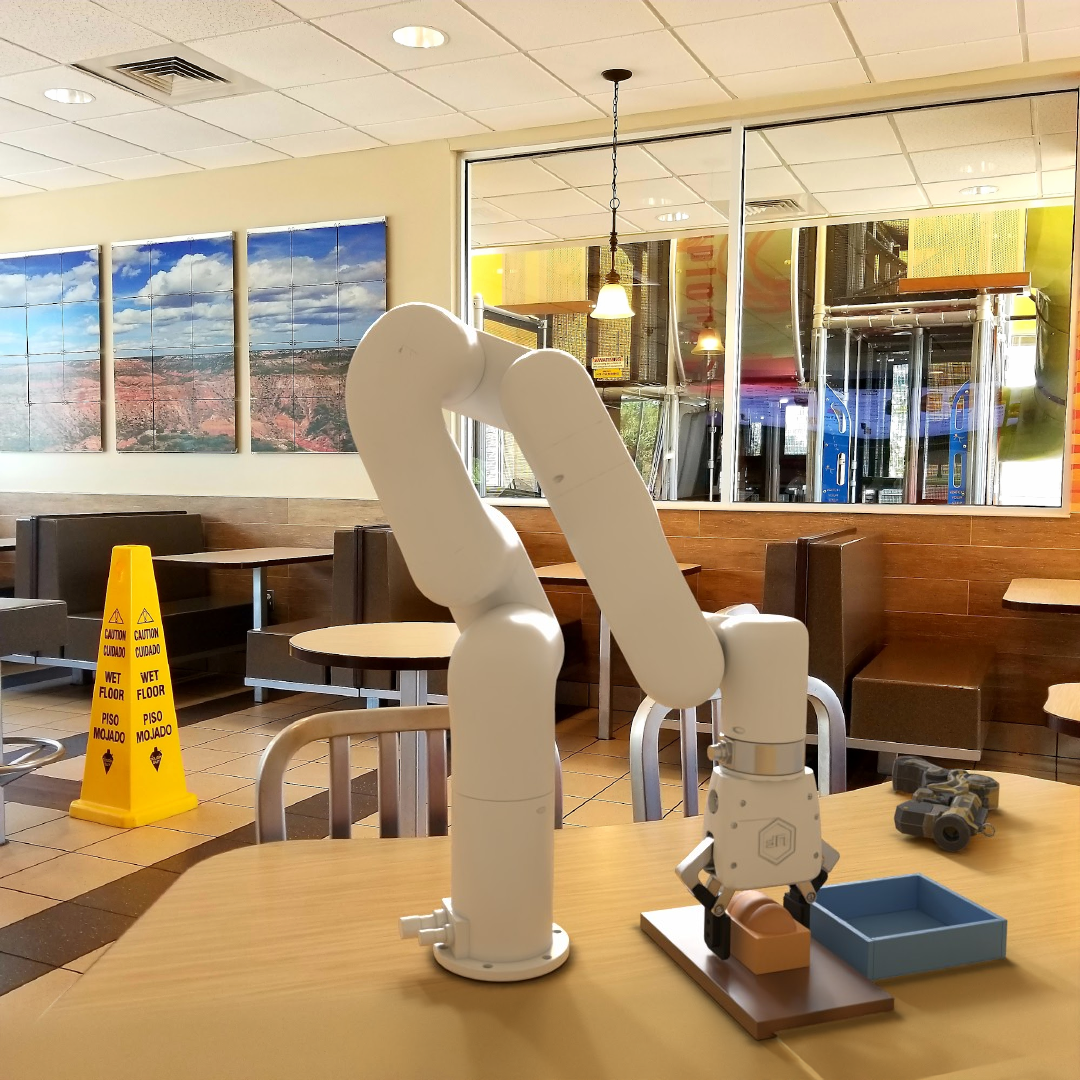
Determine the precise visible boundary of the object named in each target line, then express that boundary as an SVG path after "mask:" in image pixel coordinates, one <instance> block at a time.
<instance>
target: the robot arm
mask: <svg viewBox="0 0 1080 1080" xmlns="http://www.w3.org/2000/svg"><path fill="white" fill-rule="evenodd" d="M344 389H345V391H344V401H345V403H344V405H345V412H346V418H347V422H348V426H349V430H350V434H351V436H352V440H353V443H354V446H355V448H356V450H357V453H358V455H359V457H360V460H361V463H362V464H363V467H364V468H365V471H366V473H367V476H368V478H369V480H370V482H371V485H372V487H373V489H374V491H375V495H376V496H377V499H378V501H379V504H380V506H381V509H382V511H383V513H384V516H385V519H386V520H387V522H388V524H389V527H390V529H391V531H392V535H393V536H394V538H395V540H396V542H397V546H398V547H399V549H400V552H401V554H402V556H403V559H404V562H405V564H406V567H407V569H408V572H409V574H410V576H411V578H412V580H413V583H414V584H415V586H416V588H417V589H418V590H419V591H420V592H421V593H422V595H423V596H424V597H425V598H428V600H430V601H431V602H433V603H434V604H437V605H439V606H441V607H442V606H443V607H445V608H446V607H447V608H448V609H449V611H450V613H451V616H452V619H453V621H454V622H455V624H456V627H457V629H458V631H459V633H460V636H459V637H458V639H457V641H456V642H455V644H454V646H453V649H452V651H451V654H450V657H449V663H448V669H447V679H446V680H447V684H446V686H447V703H448V715H449V727H450V758H451V759H450V761H451V762H450V787H451V788H450V789H451V791H450V792H451V793H450V794H451V799H450V801H451V802H450V804H451V806H450V816H451V817H450V897H446V898H445V897H443V898H441V908H439V909H433V910H432V911H431V914H425V915H420V914H417V915H415V914H414V915H408V916H401V917H400V916H399V917H398V934H399V939H400V940H408V939H409V940H410V939H416V938H417V941H418V945H419V947H420V948H421V947H427V946H428V947H429V946H432V947H433V948H432V952H433V956H434V958H435V960H436V961H437V963H438V964H440V965H441V966H442V967H443V968H444V969H446V970H448V971H449V972H451V973H453V974H455V975H459V976H461V977H465V978H469V979H472V980H478V981H486V982H500V983H501V982H503V983H504V982H518V981H524V980H530V979H534V978H537V977H542V976H544V975H547V974H548V973H549V974H550V973H551V972H553V971H555V970H556V969H558V968H560V966H562V965H563V964H564V963H565V962H566V961H567V959H568V958H569V955H570V945H571V944H570V937H569V935H568V933H567V932H566V930H564V929H563V927H561V926H560V925H558V924H557V923H556V922H554V883H555V879H554V877H555V875H554V874H555V816H556V812H555V811H556V810H555V809H556V711H555V710H556V709H555V708H556V688H557V687H556V686H557V680H558V676H559V674H560V671H561V668H562V666H563V662H564V657H565V641H564V635H563V632H562V629H561V626H560V623H559V621H558V618H557V617H556V614H555V612H554V609H553V608H552V605H551V604H550V601H549V599H548V597H547V594H546V592H545V589H544V588H543V586H542V583H541V581H540V579H539V577H538V575H537V572H536V570H535V568H534V566H533V564H532V561H531V559H530V557H529V555H528V553H527V550H526V548H525V546H524V544H523V542H522V540H521V538H520V536H519V534H518V532H517V530H516V528H515V527H514V526H513V524H512V522H511V521H510V520H509V519H508V517H506V515H504V514H503V513H502V512H501V511H500V510H498V509H497V508H495V507H493V506H491V505H488V503H487V504H486V503H484V501H483V499H482V497H481V496H480V493H479V492H478V490H477V488H476V485H475V484H474V480H473V479H472V477H471V475H470V473H469V471H468V468H467V465H466V463H465V460H464V457H463V455H462V452H461V450H460V448H459V447H458V445H457V443H456V441H455V439H454V436H453V435H452V434H451V432H450V430H449V428H448V425H447V423H446V420H445V417H444V413H443V409H444V410H447V411H449V412H452V413H455V414H458V415H461V416H464V417H466V418H469V419H471V420H474V421H477V422H480V423H482V424H485V425H488V426H490V427H493V428H496V429H498V430H501V431H505V432H508V433H510V434H512V436H513V438H514V440H515V442H516V444H517V446H518V447H519V449H520V451H521V453H522V455H523V457H524V460H525V461H526V463H527V464H528V466H529V469H530V470H531V473H532V474H533V476H534V478H535V481H536V482H537V484H538V485H539V487H540V489H541V492H542V493H543V495H544V498H545V499H546V501H547V504H548V506H549V508H550V510H551V512H552V514H553V516H554V517H555V520H556V522H557V524H558V526H559V528H560V530H561V532H562V534H563V536H564V538H565V540H566V543H567V545H568V547H569V549H570V552H571V554H572V556H573V558H574V560H575V563H577V565H578V566H579V568H580V570H581V572H582V574H583V576H584V578H585V579H586V582H587V585H588V586H589V588H590V590H591V592H592V595H593V597H594V600H595V601H596V604H597V606H598V607H599V609H600V612H601V613H602V615H603V618H604V620H605V622H606V625H607V626H608V628H609V630H610V632H611V634H612V636H613V638H614V640H615V642H616V644H617V645H618V647H619V649H620V651H621V653H622V654H623V657H624V659H625V661H626V663H627V665H628V667H629V669H630V671H631V672H632V674H633V676H634V678H635V680H636V682H637V683H638V685H639V687H640V688H641V689H642V691H643V692H644V693H645V694H646V695H647V696H648V697H649V698H650V699H651V700H653V701H654V702H656V703H657V704H659V705H661V706H662V707H664V708H665V707H666V708H669V709H673V710H687V709H693V708H696V707H699V706H701V705H703V704H704V703H706V702H707V701H708V700H710V698H712V697H713V696H714V695H715V694H716V692H717V691H718V689H719V690H720V691H719V692H720V723H719V724H720V727H719V729H720V730H719V733H718V737H717V740H718V741H717V742H716V743H715V744H711V745H708V747H707V750H706V751H707V752H706V754H707V758H708V760H709V761H711V762H712V761H717V763H718V765H717V766H713V769H712V772H711V776H710V780H709V784H708V788H707V793H706V799H705V805H704V813H703V822H702V832H701V833H702V834H701V842H700V843H699V844H698V845H697V846H696V847H695V848H694V849H693V850H692V851H691V852H690V853H689V854H687V856H685V857H684V859H683V860H681V861H680V862H679V863H678V864H677V866H675V868H674V874H675V876H676V877H677V878H678V879H679V881H680V882H681V883H682V885H683V886H684V887H685V888H686V890H687V892H689V893H690V895H692V897H693V898H694V899H696V900H697V901H698V902H699V904H700V905H703V906H704V907H705V909H704V941H705V943H706V945H707V947H708V948H709V949H710V950H711V951H712V952H713V953H714V954H715V955H717V956H718V957H719V958H720V959H721V960H727V959H728V958H729V957H730V940H731V918H730V916H729V915H728V914H727V913H725V911H726V909H727V907H728V905H729V903H730V901H731V899H732V898H733V897H734V896H735V892H742V891H746V890H760V889H761V890H762V889H768V888H777V887H783V886H787V887H788V890H789V891H787V892H784V895H783V897H782V906H783V907H784V908H785V909H786V910H787V911H788V912H789V913H790V914H791V916H792V917H793V919H795V920H796V921H797V922H799V923H800V924H802V925H803V926H804V927H806V928H807V929H808V930H810V904H812V903H814V902H815V901H816V899H817V894H816V893H817V892H818V891H819V889H820V888H821V887H822V886H824V885H825V883H826V882H827V881H828V879H829V874H830V873H831V872H832V871H833V869H834V867H835V866H836V865H837V863H838V862H839V860H840V857H841V855H840V852H839V851H837V850H836V848H835V847H833V846H832V845H830V844H829V843H828V842H826V841H825V840H824V839H823V838H822V821H821V808H820V799H819V793H818V789H817V782H816V778H815V774H814V770H813V769H812V768H810V767H809V766H806V751H807V717H808V683H809V682H808V681H809V676H808V675H809V653H810V652H809V651H810V649H809V647H810V641H809V640H810V637H809V631H808V628H807V627H806V625H805V624H804V623H803V621H801V620H799V619H797V618H795V617H792V616H791V617H790V616H785V615H779V614H766V613H765V614H764V613H763V614H762V613H759V614H758V613H755V614H753V613H752V614H742V615H737V616H735V615H729V614H728V615H727V614H719V613H712V612H707V611H702V610H701V608H700V606H699V604H698V602H697V599H696V598H695V596H694V594H693V592H692V590H691V588H690V586H689V584H688V583H687V581H686V578H685V576H684V574H683V572H682V570H681V569H680V566H679V563H678V562H677V560H676V558H675V555H674V554H673V552H672V550H671V546H670V544H669V542H668V540H667V537H666V535H665V532H664V530H663V526H662V523H661V520H660V517H659V514H658V510H657V507H656V504H655V503H654V499H653V497H652V496H651V493H650V491H649V489H648V486H647V485H646V483H645V481H644V479H643V477H642V475H641V473H640V471H639V470H638V468H637V466H636V463H635V462H634V460H633V458H632V456H631V455H630V453H629V450H628V449H627V447H626V445H625V442H624V441H623V439H622V437H621V435H620V433H619V431H618V429H617V427H616V425H615V424H614V422H613V419H612V418H611V416H610V414H609V412H608V409H607V408H606V406H605V403H604V402H603V400H602V398H601V396H600V394H599V392H598V390H597V388H596V386H595V382H594V381H593V379H592V377H591V375H590V374H589V372H588V370H587V369H586V367H584V365H583V364H582V363H581V361H580V360H579V359H577V358H576V357H575V356H573V355H572V354H571V353H568V352H566V351H564V350H561V349H557V348H541V349H533V348H530V347H528V346H524V345H522V344H519V343H515V342H512V341H510V340H507V339H504V338H501V337H499V336H497V335H494V334H492V333H488V332H486V331H483V330H480V329H478V328H475V327H473V326H470V325H468V324H466V323H465V322H463V320H461V319H460V318H458V317H457V316H456V315H454V314H453V313H452V312H450V311H448V310H446V309H445V308H444V307H441V306H438V305H435V304H432V303H425V302H408V303H405V304H404V303H403V304H401V305H397V306H396V307H393V308H391V309H390V310H388V311H387V312H385V313H383V314H382V315H381V316H379V317H378V318H377V319H376V320H375V322H373V324H372V325H371V326H370V327H369V328H368V329H367V330H366V331H365V334H364V335H363V337H362V338H361V339H360V341H359V342H358V344H357V346H356V348H355V350H354V352H353V355H352V357H351V360H350V363H349V367H348V369H347V373H346V379H345V388H344ZM701 871H704V872H705V873H707V874H709V876H708V878H707V880H706V882H705V884H703V883H702V881H701V880H700V878H699V874H700V872H701Z"/></svg>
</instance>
